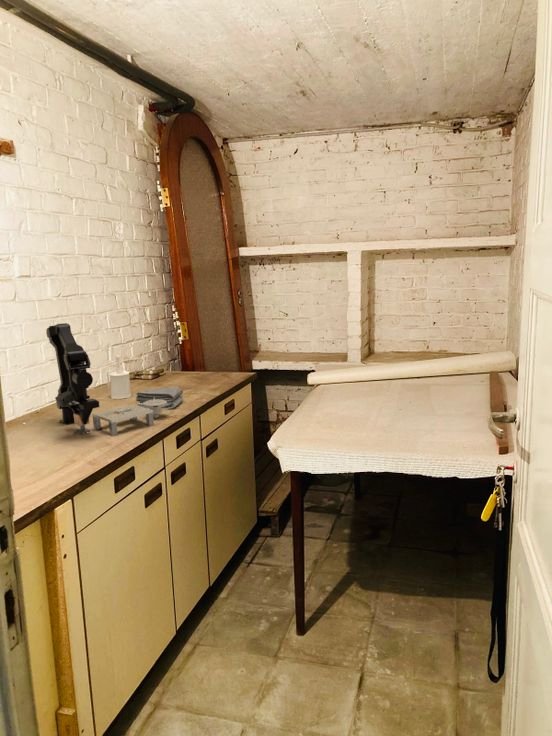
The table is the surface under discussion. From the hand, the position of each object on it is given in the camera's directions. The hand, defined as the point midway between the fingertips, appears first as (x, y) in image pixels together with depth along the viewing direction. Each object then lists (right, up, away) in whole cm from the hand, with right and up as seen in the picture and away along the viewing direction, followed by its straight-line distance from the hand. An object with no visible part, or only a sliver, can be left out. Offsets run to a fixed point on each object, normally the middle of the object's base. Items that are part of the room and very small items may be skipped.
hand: (82, 423), depth 214 cm
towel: (+22, +4, +38) cm, 44 cm away
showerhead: (+24, +1, +19) cm, 31 cm away
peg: (0, -3, +1) cm, 4 cm away
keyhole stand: (+14, -2, +6) cm, 16 cm away
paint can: (-1, +7, +55) cm, 55 cm away
